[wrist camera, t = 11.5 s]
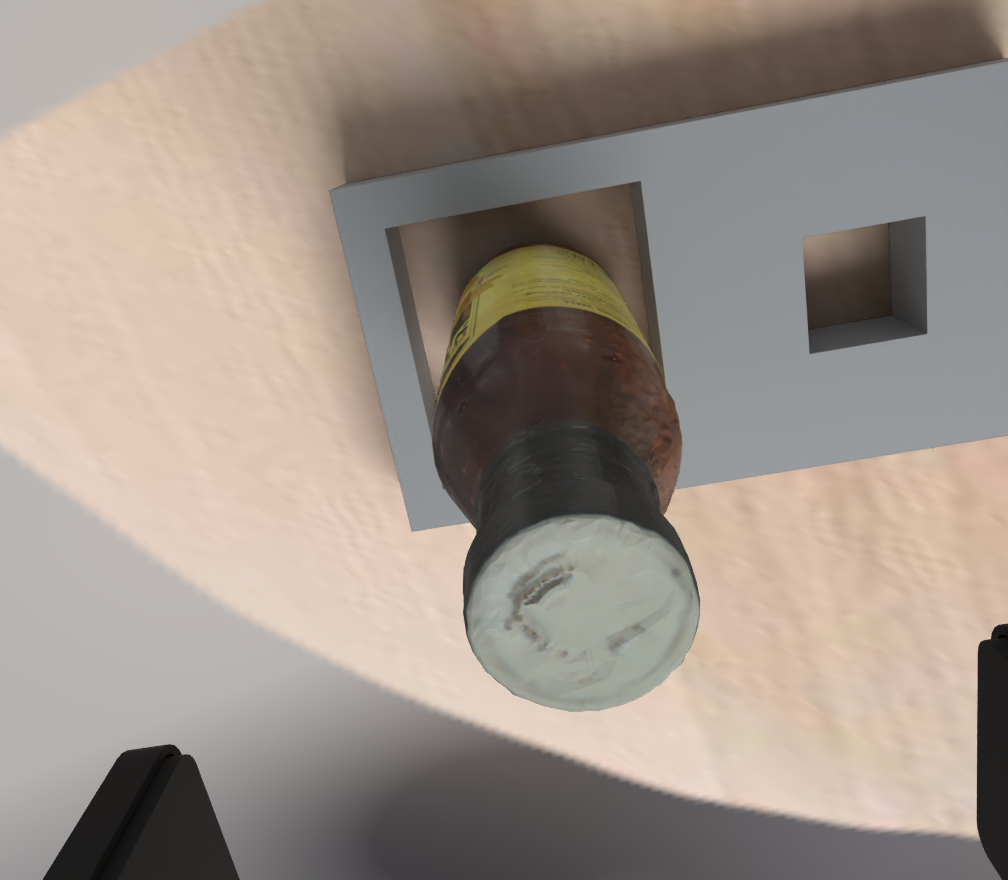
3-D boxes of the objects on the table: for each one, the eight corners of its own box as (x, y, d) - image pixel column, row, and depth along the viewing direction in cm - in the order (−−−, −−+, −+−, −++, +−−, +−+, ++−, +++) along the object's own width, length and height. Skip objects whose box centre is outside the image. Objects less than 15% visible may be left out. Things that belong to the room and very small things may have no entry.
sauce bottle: (438, 258, 32) (332, 455, 14) (605, 219, 32) (733, 368, 13) (480, 422, 34) (438, 785, 16) (637, 389, 34) (786, 723, 15)
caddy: (1004, 58, 30) (1056, 52, 27) (999, 403, 34) (1043, 429, 31) (345, 183, 31) (329, 190, 29) (419, 498, 36) (411, 531, 33)
